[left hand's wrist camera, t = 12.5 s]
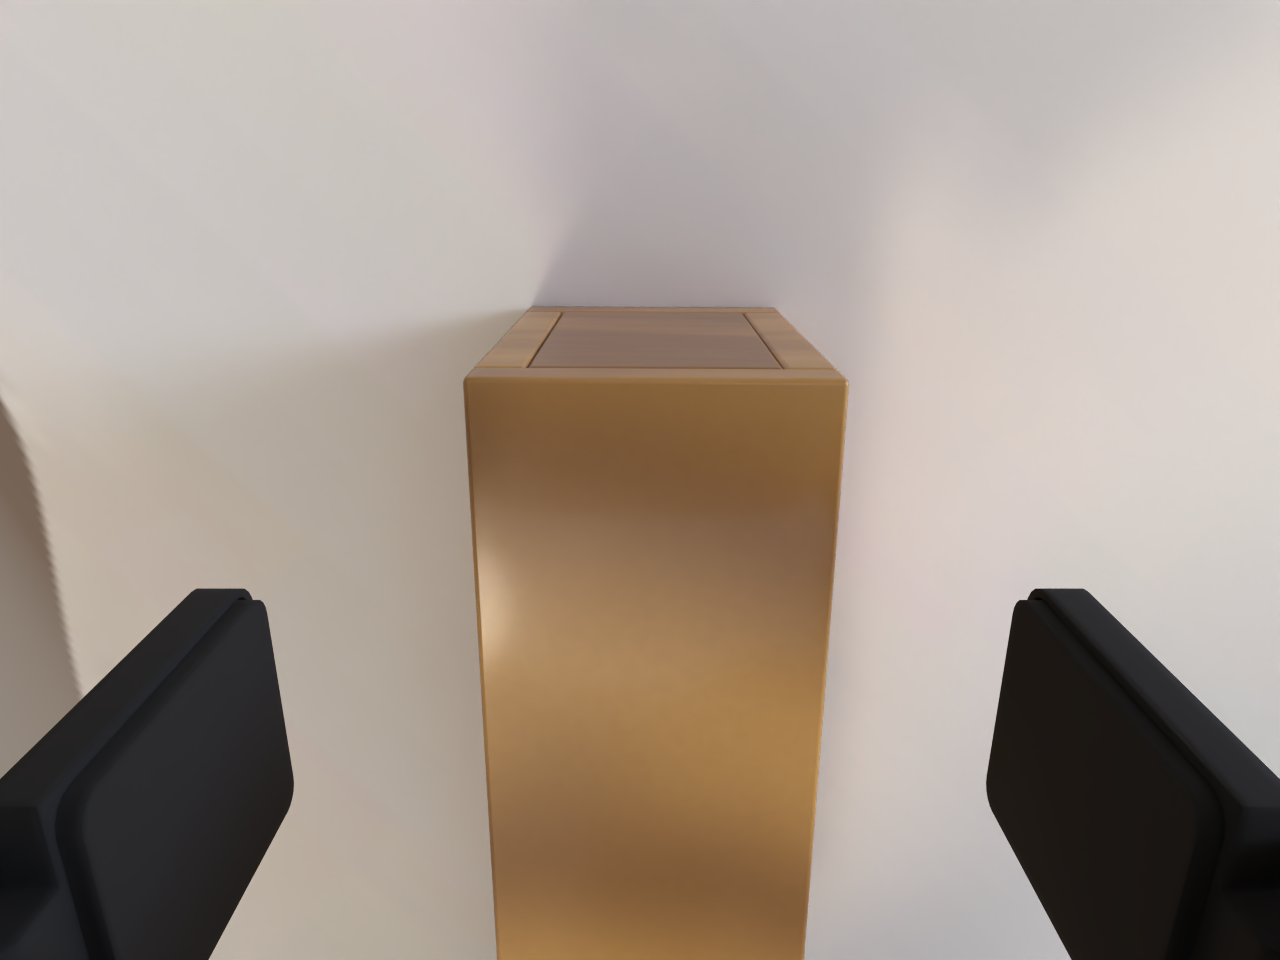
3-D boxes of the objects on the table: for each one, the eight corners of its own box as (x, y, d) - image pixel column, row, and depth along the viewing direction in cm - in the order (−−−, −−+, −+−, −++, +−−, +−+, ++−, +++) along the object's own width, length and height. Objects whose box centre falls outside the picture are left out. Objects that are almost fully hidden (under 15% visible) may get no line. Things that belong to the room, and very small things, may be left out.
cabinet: (742, 948, 28) (781, 1255, 20) (551, 947, 29) (513, 1252, 20) (775, 307, 22) (850, 380, 14) (529, 306, 22) (461, 377, 14)
